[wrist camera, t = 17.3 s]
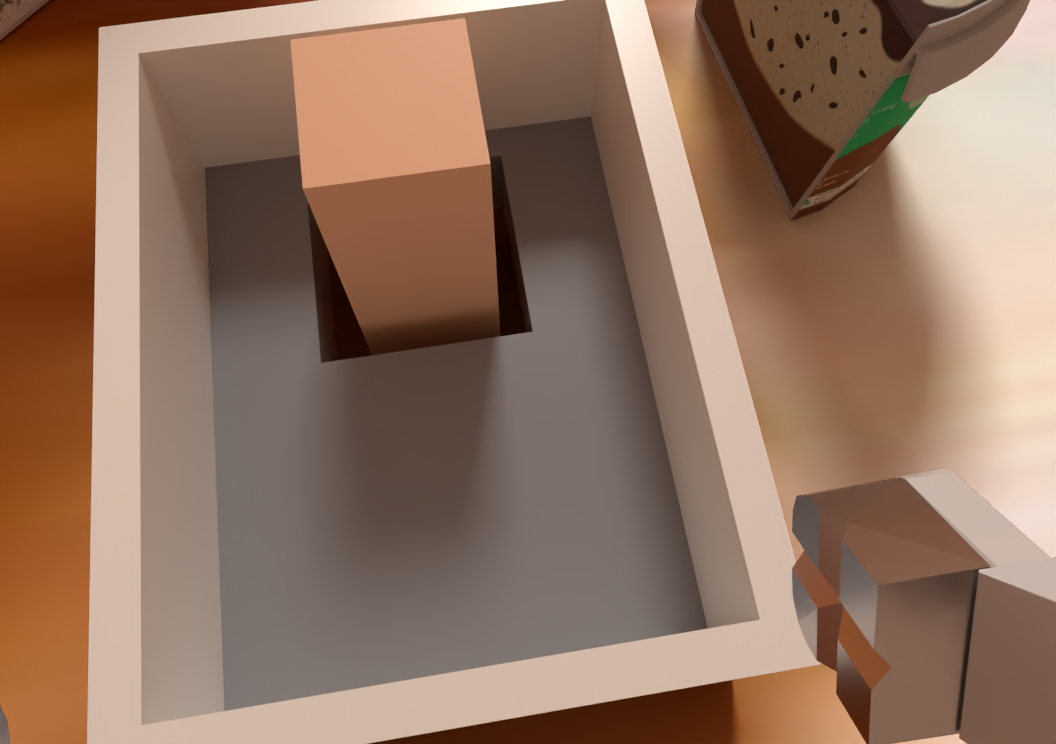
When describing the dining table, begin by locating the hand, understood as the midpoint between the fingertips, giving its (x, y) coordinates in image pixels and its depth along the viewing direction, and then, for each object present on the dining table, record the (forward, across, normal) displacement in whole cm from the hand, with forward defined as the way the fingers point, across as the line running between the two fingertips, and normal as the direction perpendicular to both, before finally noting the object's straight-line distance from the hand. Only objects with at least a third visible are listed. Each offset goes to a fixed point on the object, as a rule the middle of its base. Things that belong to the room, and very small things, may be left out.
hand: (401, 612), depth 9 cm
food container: (+25, -15, 0) cm, 29 cm away
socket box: (+18, 0, +6) cm, 19 cm away
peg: (+20, 0, +4) cm, 21 cm away
